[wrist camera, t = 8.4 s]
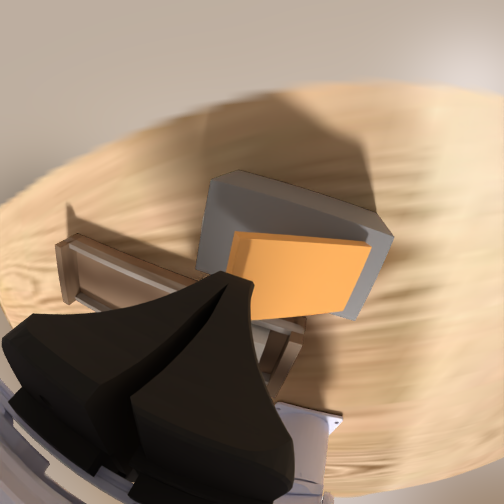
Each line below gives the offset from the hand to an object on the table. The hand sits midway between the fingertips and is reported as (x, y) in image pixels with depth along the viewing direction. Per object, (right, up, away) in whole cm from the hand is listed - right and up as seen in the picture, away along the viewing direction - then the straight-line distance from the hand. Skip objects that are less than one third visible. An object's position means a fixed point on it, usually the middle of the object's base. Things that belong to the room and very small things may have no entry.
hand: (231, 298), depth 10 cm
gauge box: (+4, +3, +9) cm, 11 cm away
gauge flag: (+3, +1, +3) cm, 4 cm away
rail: (-7, -3, +15) cm, 17 cm away
